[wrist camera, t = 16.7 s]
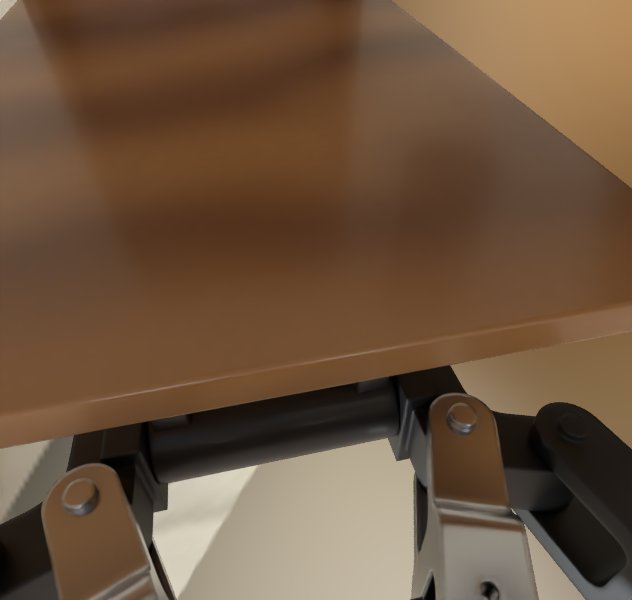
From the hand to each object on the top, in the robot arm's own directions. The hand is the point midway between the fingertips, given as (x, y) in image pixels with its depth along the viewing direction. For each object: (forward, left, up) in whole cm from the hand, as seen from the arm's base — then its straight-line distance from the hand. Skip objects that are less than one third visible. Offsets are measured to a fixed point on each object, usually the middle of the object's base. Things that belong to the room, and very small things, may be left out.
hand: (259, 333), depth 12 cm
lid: (-5, +1, -5) cm, 7 cm away
